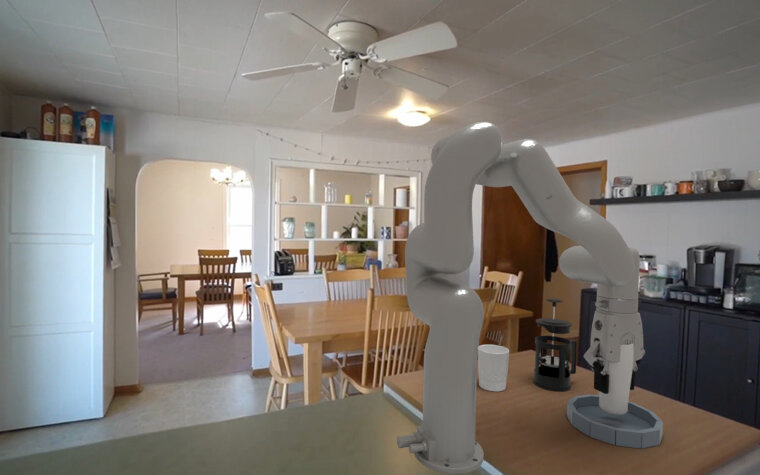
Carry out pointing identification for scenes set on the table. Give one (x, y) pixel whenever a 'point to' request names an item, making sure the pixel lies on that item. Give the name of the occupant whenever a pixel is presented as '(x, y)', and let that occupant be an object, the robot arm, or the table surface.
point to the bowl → (615, 423)
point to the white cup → (492, 367)
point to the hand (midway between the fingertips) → (613, 388)
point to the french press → (552, 368)
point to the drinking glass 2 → (618, 382)
